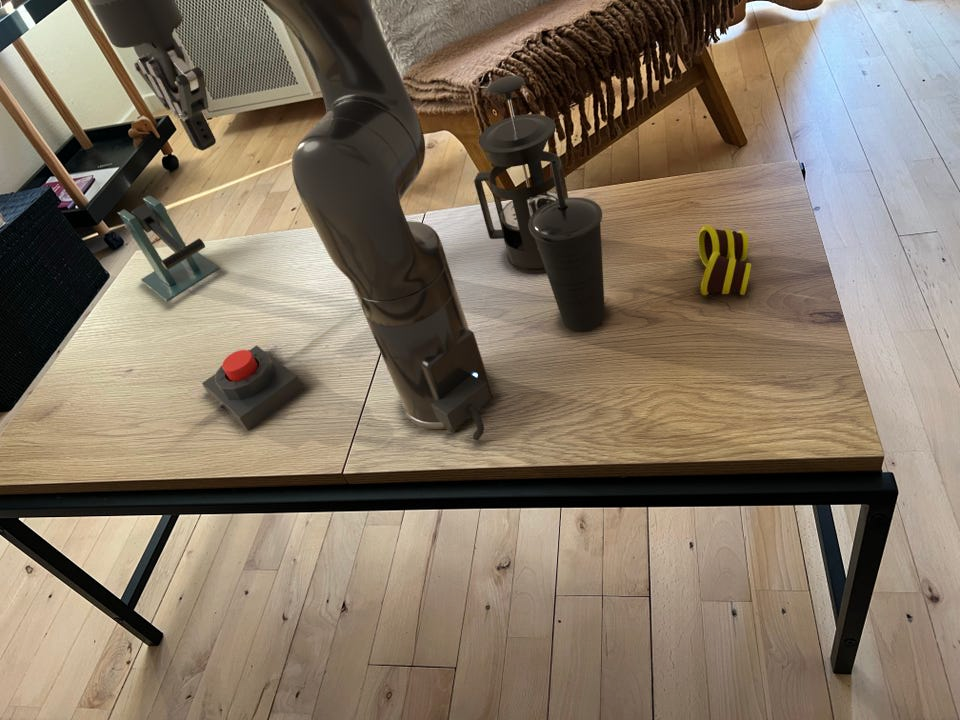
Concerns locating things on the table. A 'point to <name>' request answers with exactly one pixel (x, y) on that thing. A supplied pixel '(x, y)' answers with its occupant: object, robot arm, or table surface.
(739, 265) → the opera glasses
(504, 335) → the table surface
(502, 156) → the french press
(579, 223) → the drinking cup
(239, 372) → the button
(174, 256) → the lever
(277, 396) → the button box
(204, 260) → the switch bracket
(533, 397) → the table surface
